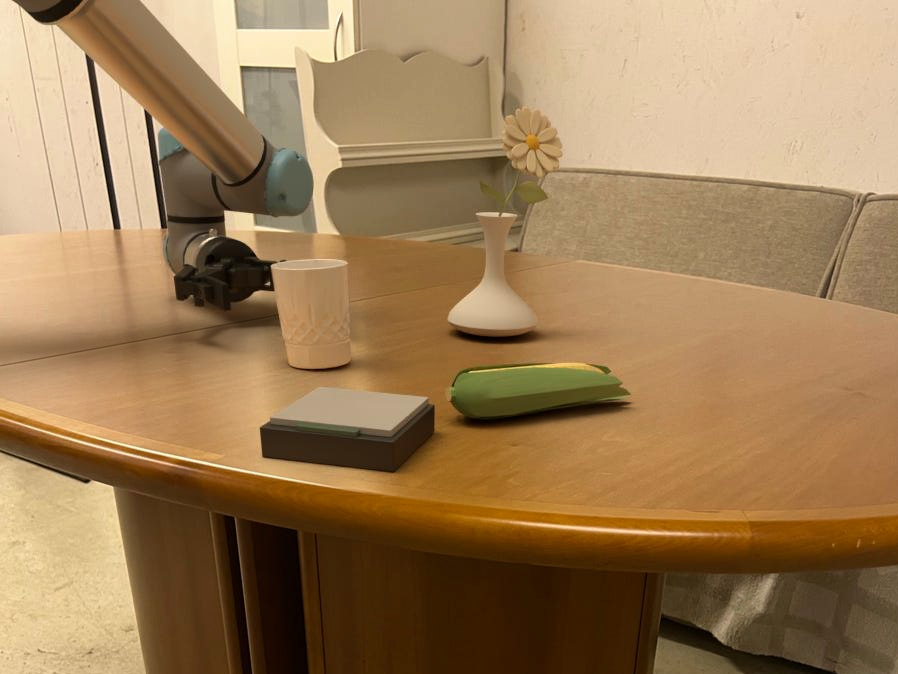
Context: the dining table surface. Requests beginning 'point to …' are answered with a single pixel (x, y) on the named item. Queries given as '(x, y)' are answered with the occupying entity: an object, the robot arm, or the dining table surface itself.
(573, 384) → the edible corn
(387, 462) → the scale
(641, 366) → the dining table surface
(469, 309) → the flower in vase
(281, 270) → the white cup
